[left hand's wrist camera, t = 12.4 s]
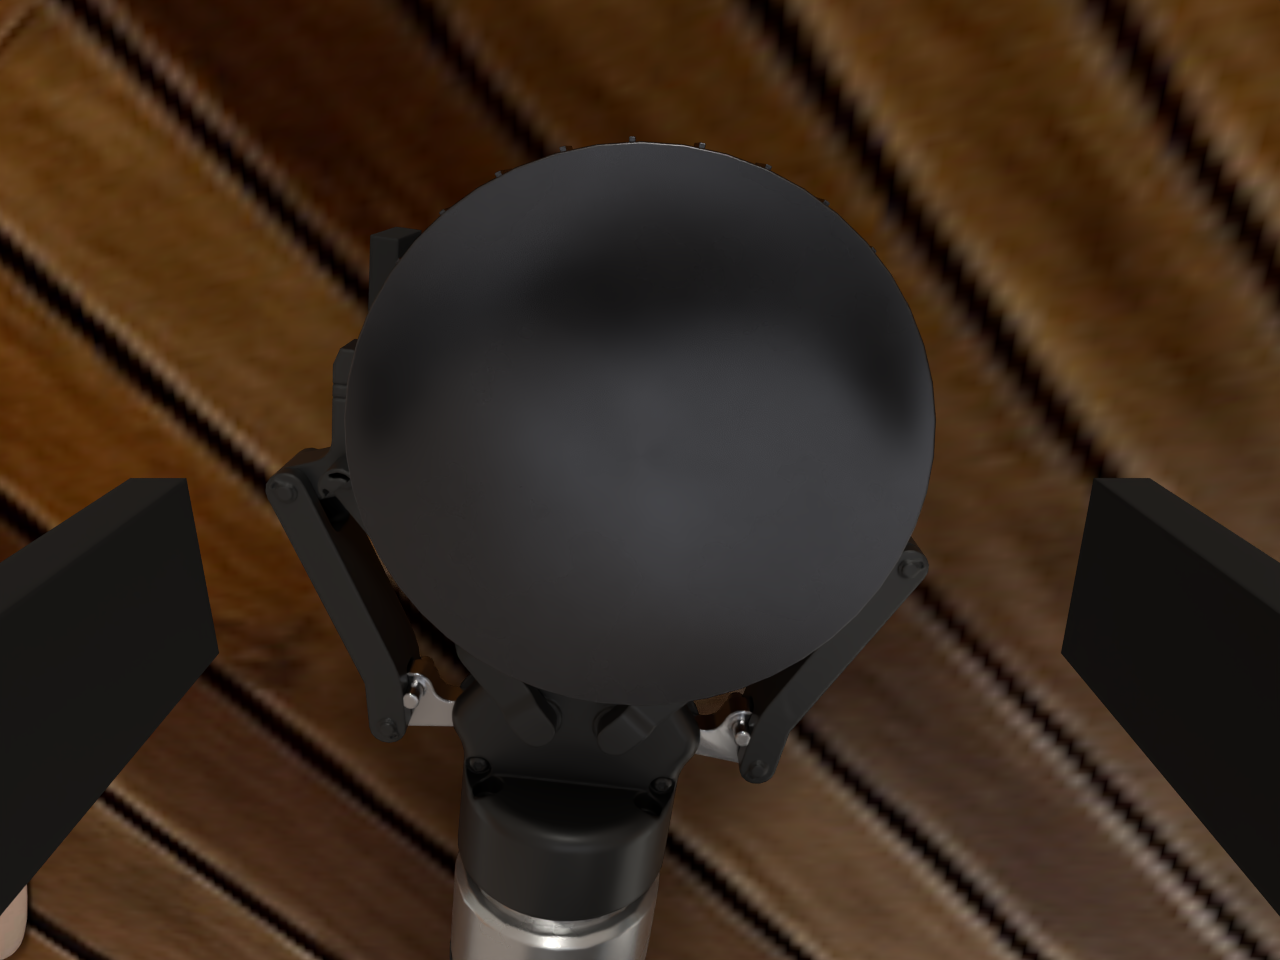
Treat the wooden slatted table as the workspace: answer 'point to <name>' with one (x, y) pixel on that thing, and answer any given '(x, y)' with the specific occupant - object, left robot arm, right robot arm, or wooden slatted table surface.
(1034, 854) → the wooden slatted table surface
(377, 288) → the right robot arm
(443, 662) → the wooden slatted table surface
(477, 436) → the lid
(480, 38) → the wooden slatted table surface
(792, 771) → the wooden slatted table surface
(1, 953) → the anatomical model
